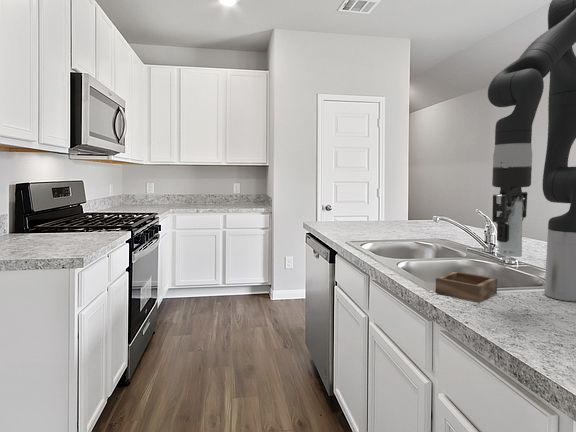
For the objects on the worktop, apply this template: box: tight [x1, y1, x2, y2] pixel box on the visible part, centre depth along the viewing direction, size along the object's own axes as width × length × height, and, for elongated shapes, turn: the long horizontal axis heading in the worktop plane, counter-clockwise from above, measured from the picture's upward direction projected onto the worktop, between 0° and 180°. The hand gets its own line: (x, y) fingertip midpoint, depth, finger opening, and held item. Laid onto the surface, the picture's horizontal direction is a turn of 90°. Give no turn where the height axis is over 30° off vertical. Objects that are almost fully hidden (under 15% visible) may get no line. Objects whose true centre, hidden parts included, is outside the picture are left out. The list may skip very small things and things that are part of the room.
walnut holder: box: [434, 270, 498, 303], centre depth 107 cm, size 11×11×4 cm
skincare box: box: [497, 201, 523, 258], centre depth 90 cm, size 6×4×12 cm
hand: (509, 239), depth 90 cm, fingers closed on skincare box, 7 cm apart
